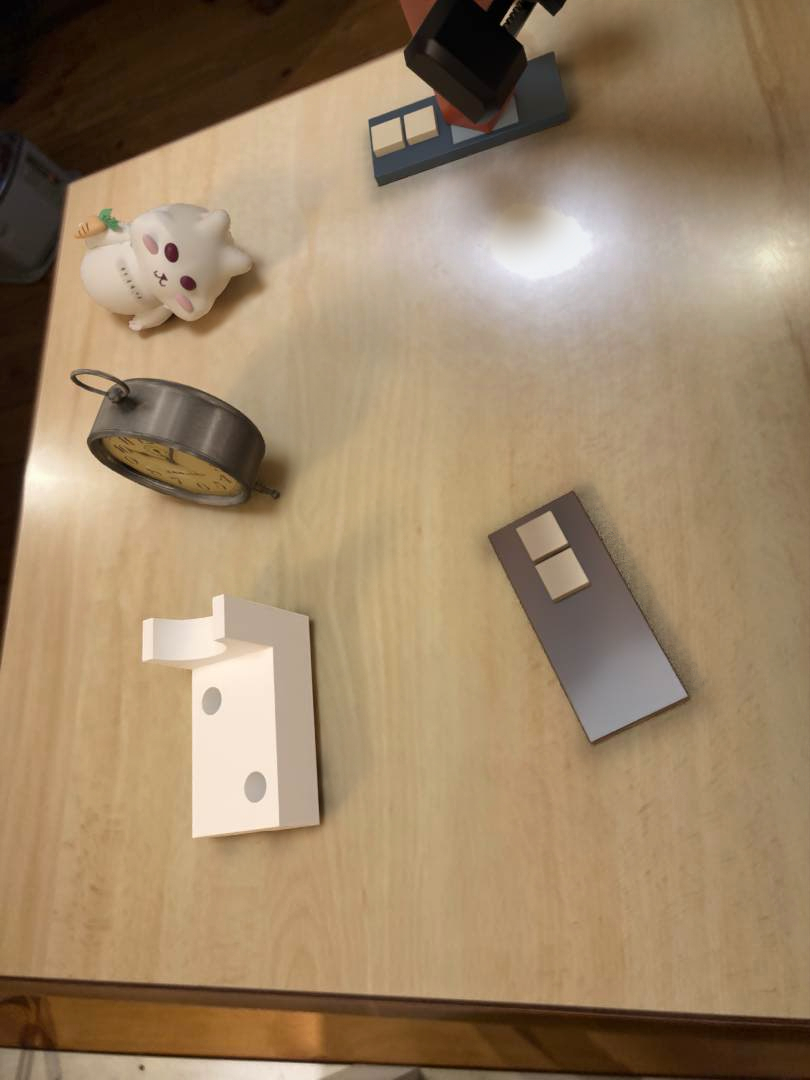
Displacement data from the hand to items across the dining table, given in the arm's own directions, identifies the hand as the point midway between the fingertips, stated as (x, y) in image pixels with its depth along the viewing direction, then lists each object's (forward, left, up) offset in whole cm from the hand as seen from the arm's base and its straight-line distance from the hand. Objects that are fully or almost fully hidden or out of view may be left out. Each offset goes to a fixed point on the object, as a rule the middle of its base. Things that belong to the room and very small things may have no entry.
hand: (468, 32), depth 56 cm
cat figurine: (+27, -2, -8) cm, 29 cm away
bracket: (+33, +34, -8) cm, 49 cm away
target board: (+2, -1, -8) cm, 8 cm away
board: (+11, +37, -8) cm, 40 cm away
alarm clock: (+29, +16, -8) cm, 35 cm away
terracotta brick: (+1, -1, -7) cm, 7 cm away
